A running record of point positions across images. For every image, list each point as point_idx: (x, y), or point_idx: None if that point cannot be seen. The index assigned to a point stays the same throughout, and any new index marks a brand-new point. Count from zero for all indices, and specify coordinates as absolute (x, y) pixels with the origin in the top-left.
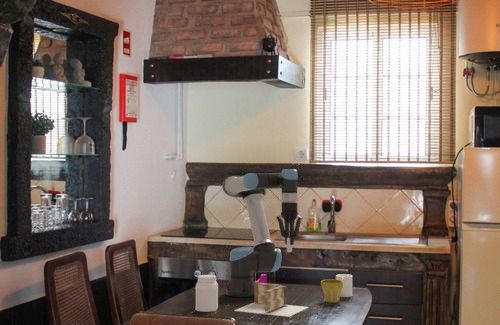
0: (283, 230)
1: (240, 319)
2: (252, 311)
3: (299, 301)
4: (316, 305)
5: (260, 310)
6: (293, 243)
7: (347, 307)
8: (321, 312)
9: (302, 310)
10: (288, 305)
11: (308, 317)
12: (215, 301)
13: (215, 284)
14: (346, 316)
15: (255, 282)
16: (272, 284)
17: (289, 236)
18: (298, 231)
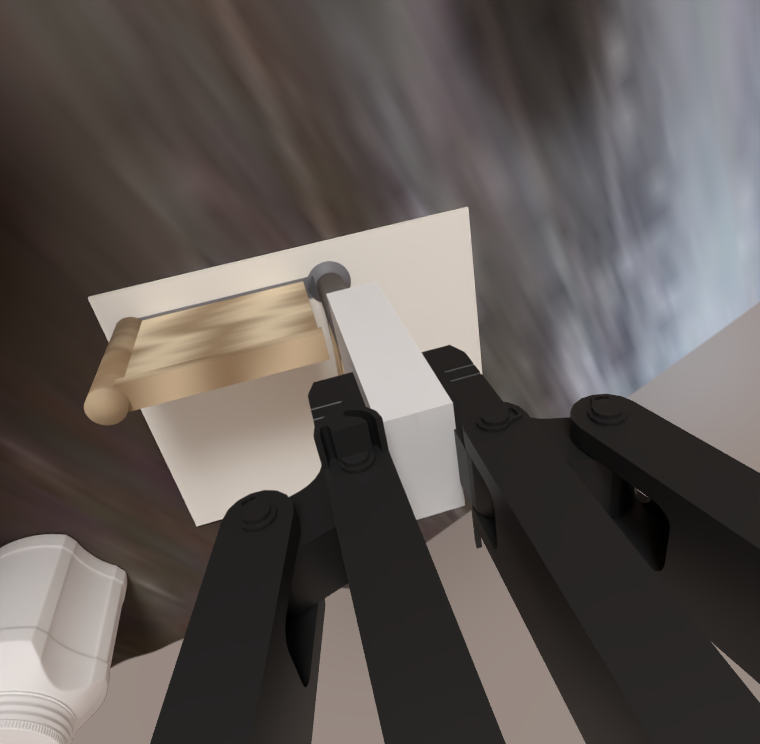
0: (298, 687)
1: (343, 586)
2: (287, 485)
3: (297, 51)
4: (473, 105)
5: (302, 448)
6: (468, 366)
7: (671, 23)
8: (577, 263)
9: (475, 298)
10: (339, 251)
11: (562, 389)
12: (118, 615)
13: (85, 696)
14: (713, 256)
15: (111, 422)
16: (254, 368)
17: (383, 429)
18: (742, 470)
